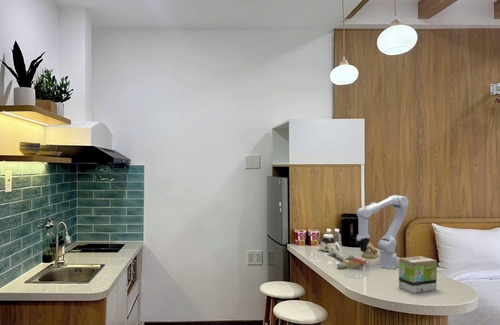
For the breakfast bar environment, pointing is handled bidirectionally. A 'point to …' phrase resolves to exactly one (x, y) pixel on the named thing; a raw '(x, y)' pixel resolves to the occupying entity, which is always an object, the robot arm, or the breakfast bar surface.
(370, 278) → the breakfast bar surface
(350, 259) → the lever
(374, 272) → the breakfast bar surface
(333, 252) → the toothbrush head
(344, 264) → the valve pipe
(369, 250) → the ceramic model
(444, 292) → the breakfast bar surface
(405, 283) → the tea box
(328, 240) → the spread jar
